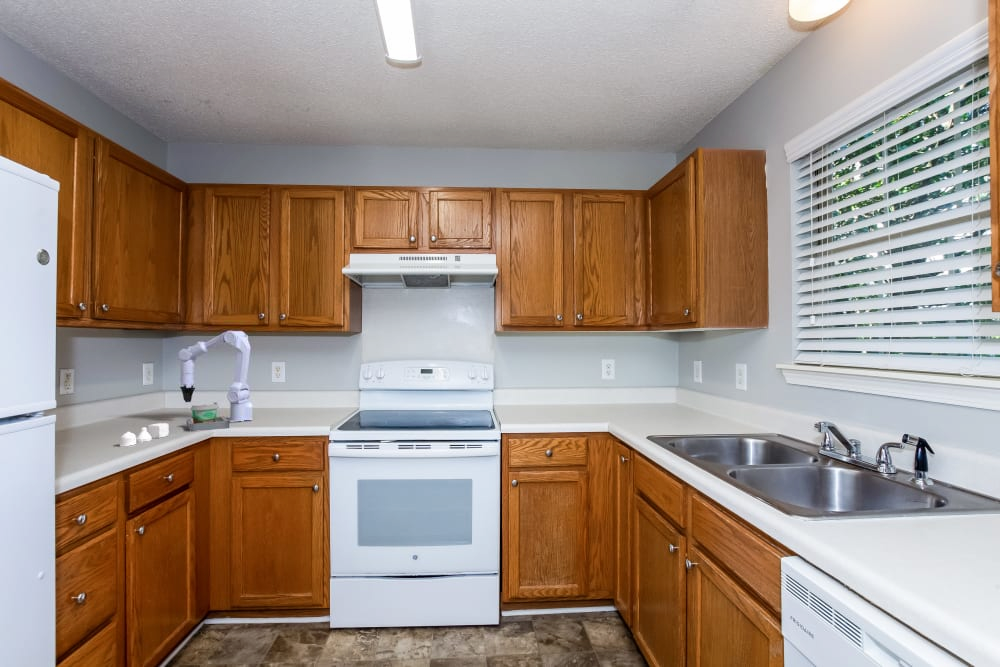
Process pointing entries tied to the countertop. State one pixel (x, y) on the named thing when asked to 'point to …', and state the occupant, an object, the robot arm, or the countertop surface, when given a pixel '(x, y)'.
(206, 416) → the food container
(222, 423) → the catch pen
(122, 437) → the container set
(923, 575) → the countertop surface
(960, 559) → the countertop surface
